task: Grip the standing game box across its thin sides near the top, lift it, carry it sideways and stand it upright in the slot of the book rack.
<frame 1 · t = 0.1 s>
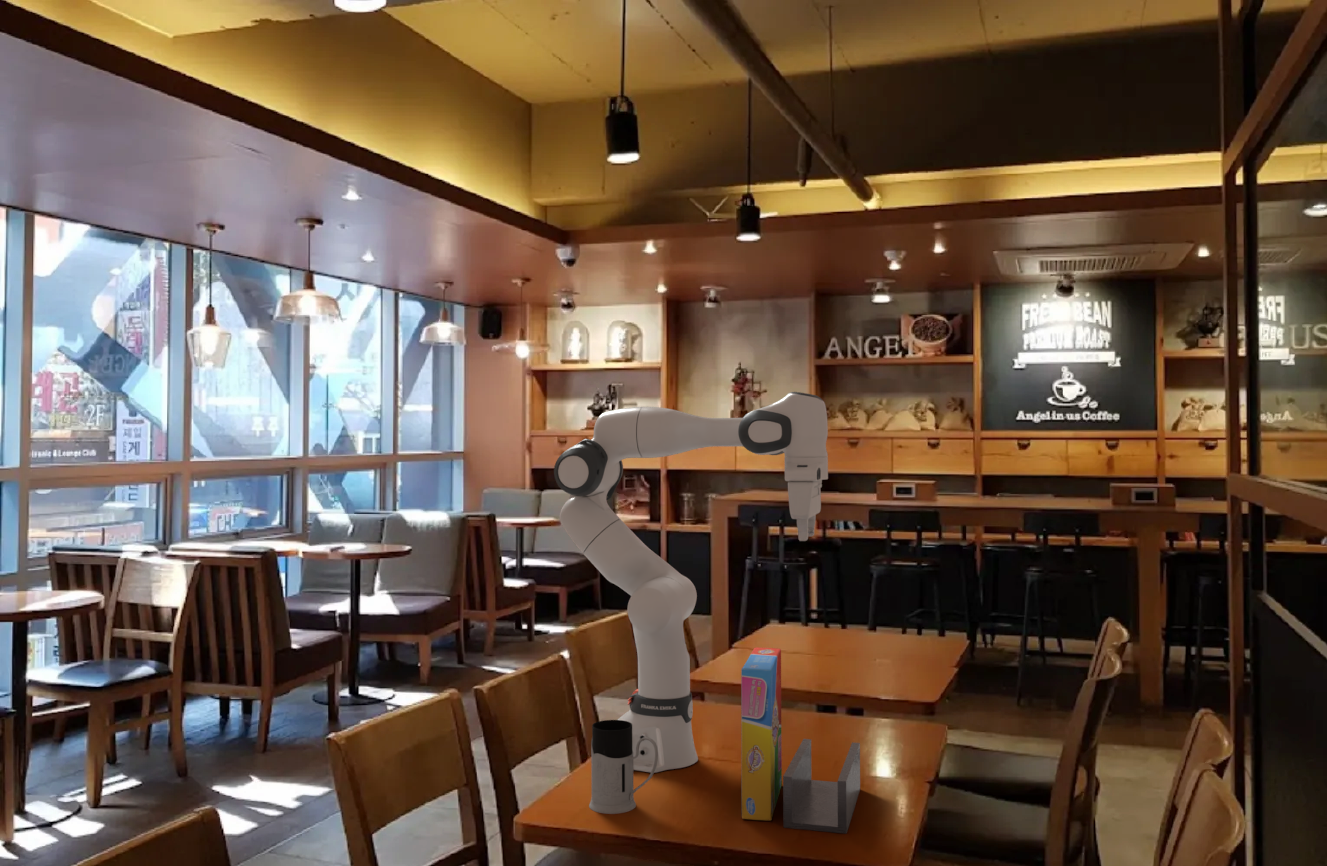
hand: (806, 538, 216), 48 cm above the table, fingers open, 8 cm apart
book rack: (823, 807, 195), on the table
game box: (762, 802, 198), on the table
glass holder: (624, 808, 195), on the table
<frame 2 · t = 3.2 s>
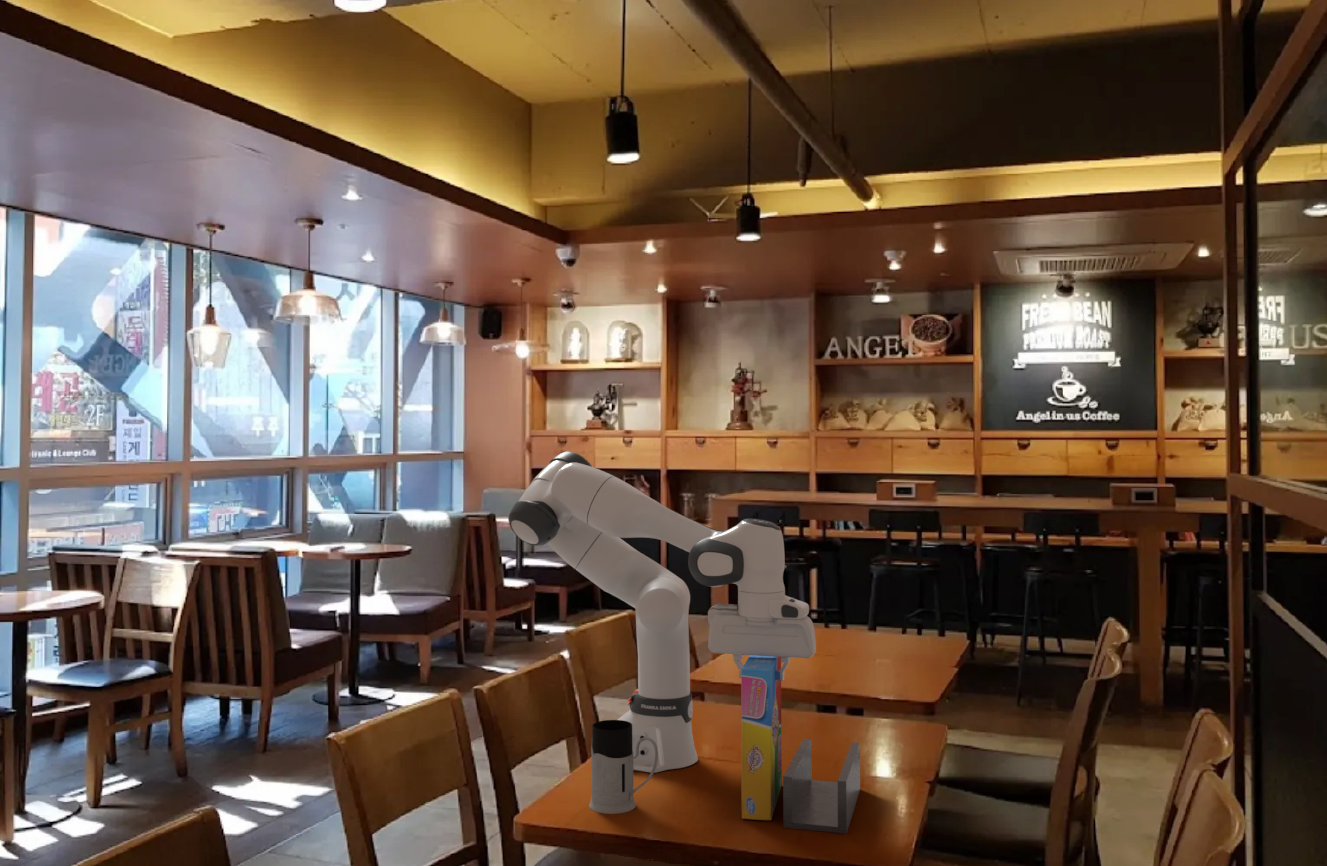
hand: (761, 678, 198), 23 cm above the table, fingers closed on game box, 5 cm apart
game box: (762, 802, 198), on the table, touching gripper
everything else where it was.
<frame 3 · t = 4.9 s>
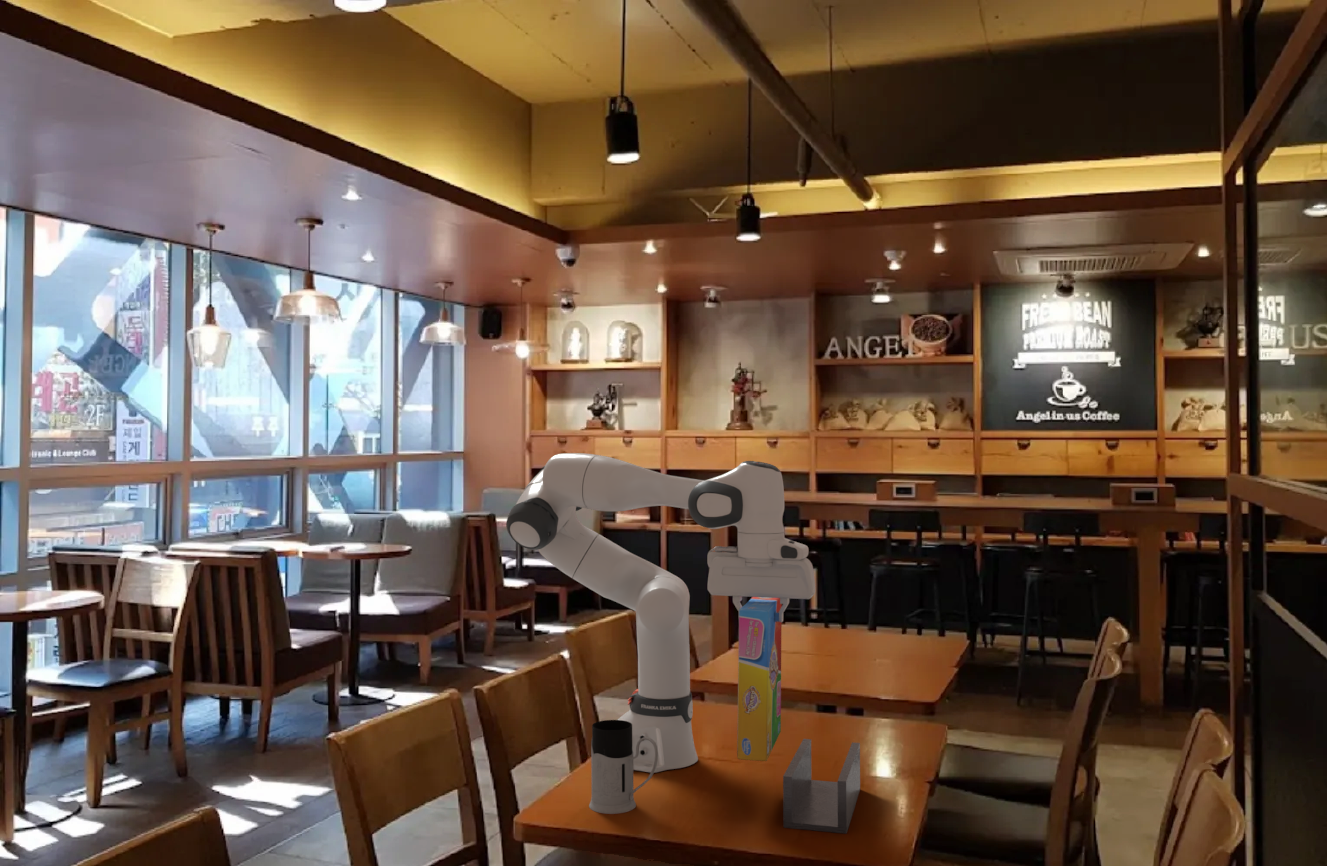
hand: (761, 620, 198), 34 cm above the table, fingers closed on game box, 5 cm apart
game box: (759, 746, 198), point 10 cm above the table, touching gripper
everything else where it was.
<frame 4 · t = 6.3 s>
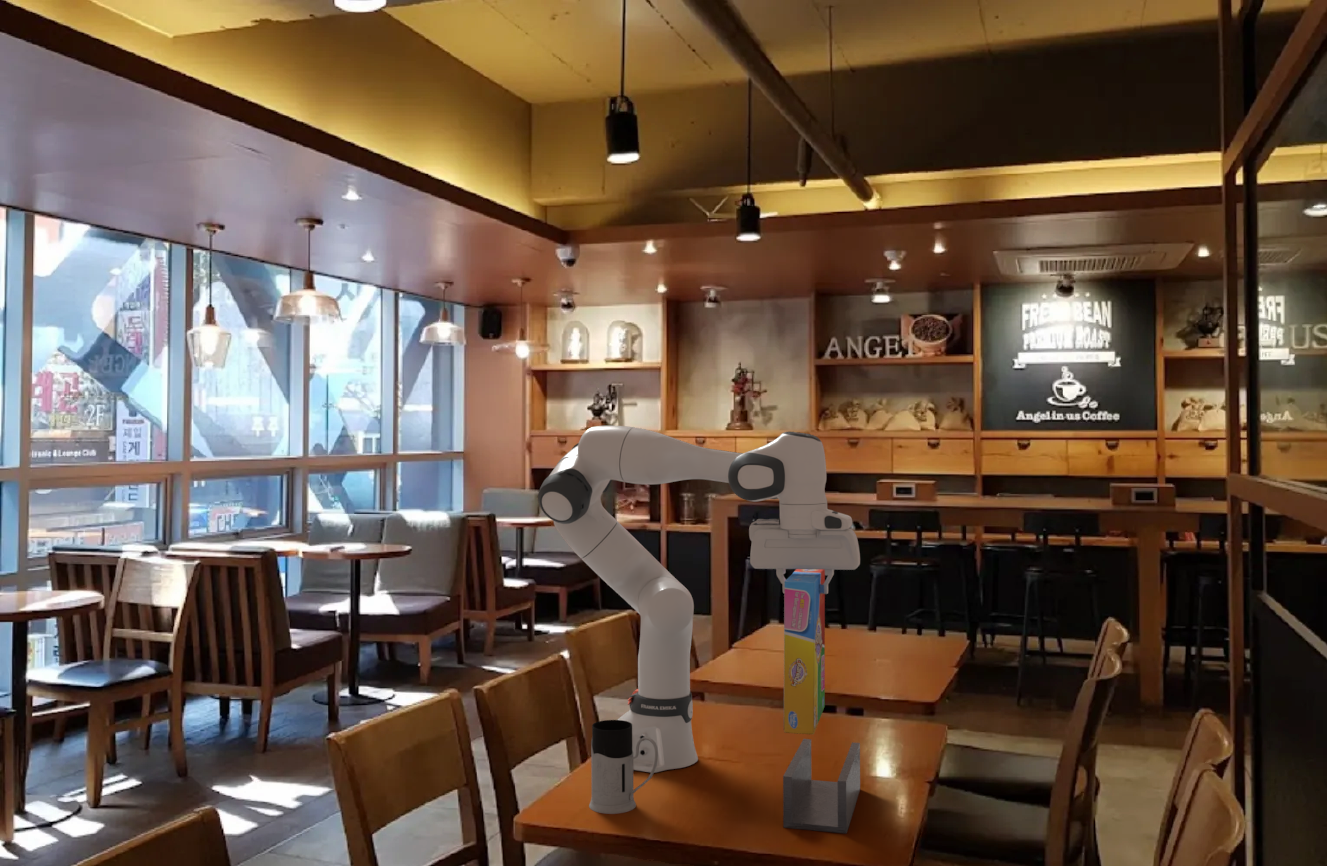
hand: (805, 593, 196), 40 cm above the table, fingers closed on game box, 5 cm apart
game box: (805, 720, 196), point 16 cm above the table, touching gripper
everything else where it was.
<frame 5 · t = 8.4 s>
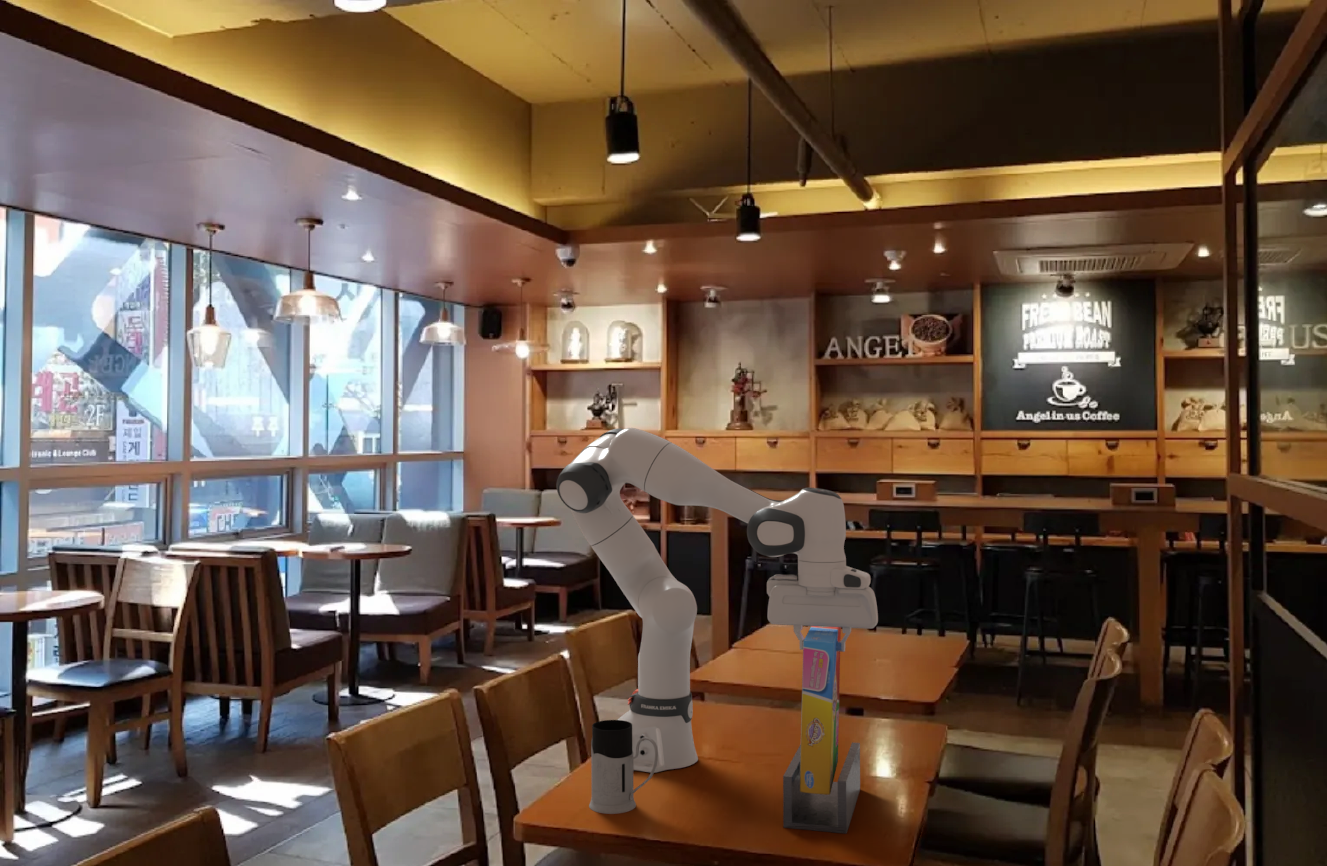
hand: (822, 650, 195), 29 cm above the table, fingers closed on game box, 5 cm apart
game box: (819, 777, 195), point 5 cm above the table, touching gripper
everything else where it was.
when the fingers open (26 cm above the table, at t = 9.7 s): game box stays where it is, resting on book rack.
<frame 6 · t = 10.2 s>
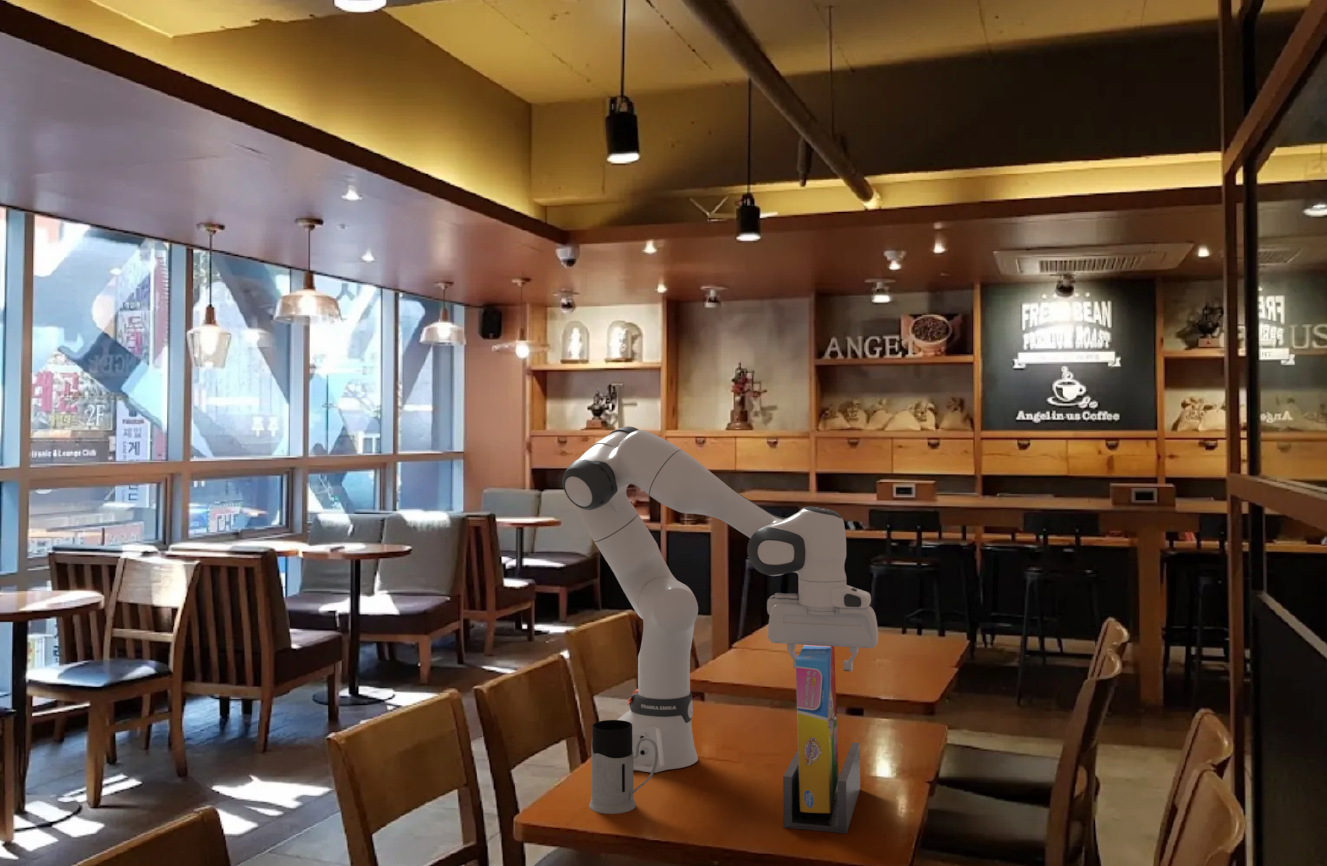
hand: (822, 669, 195), 26 cm above the table, fingers open, 8 cm apart
game box: (820, 796, 195), point 2 cm above the table, touching book rack, gripper
everything else where it was.
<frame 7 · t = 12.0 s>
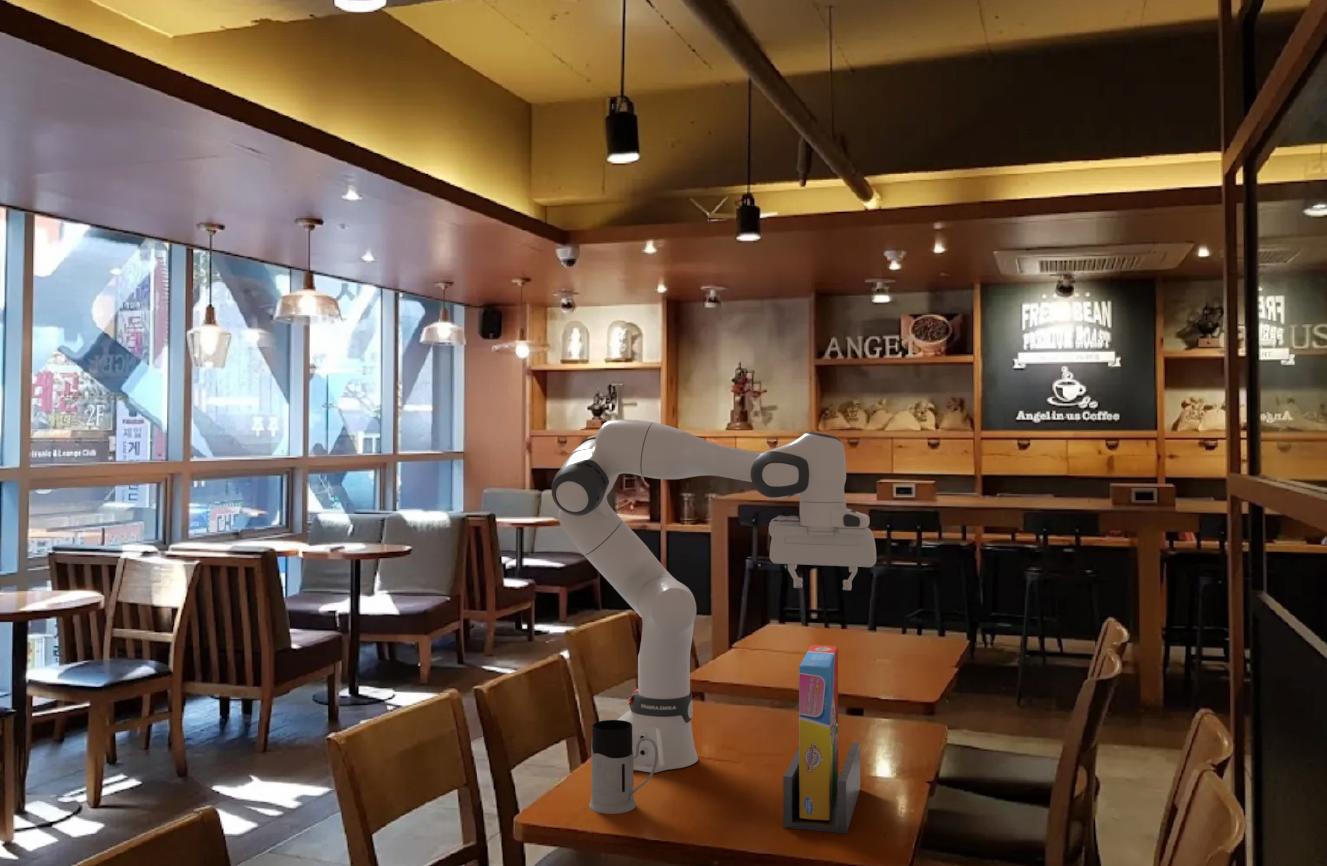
hand: (822, 588, 202), 40 cm above the table, fingers open, 8 cm apart
game box: (819, 802, 195), point 1 cm above the table, touching book rack
everything else where it was.
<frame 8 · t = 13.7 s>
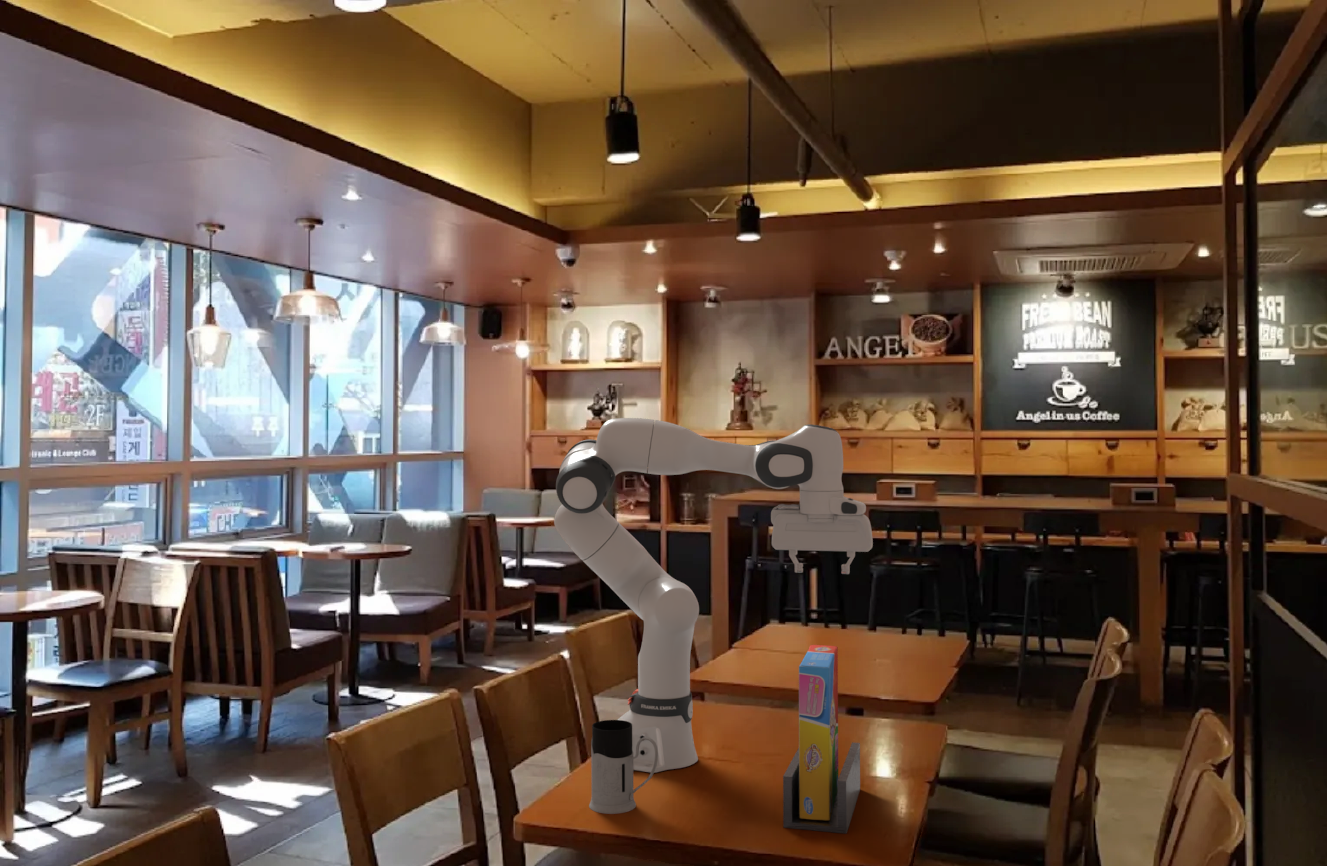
hand: (822, 572, 213), 41 cm above the table, fingers open, 8 cm apart
nothing on the table moved.
at the end: game box 0.8 cm off-centre on the book rack, point 0.8 cm above the book rack's base; game box tilted 0°; the gripper is holding nothing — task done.
